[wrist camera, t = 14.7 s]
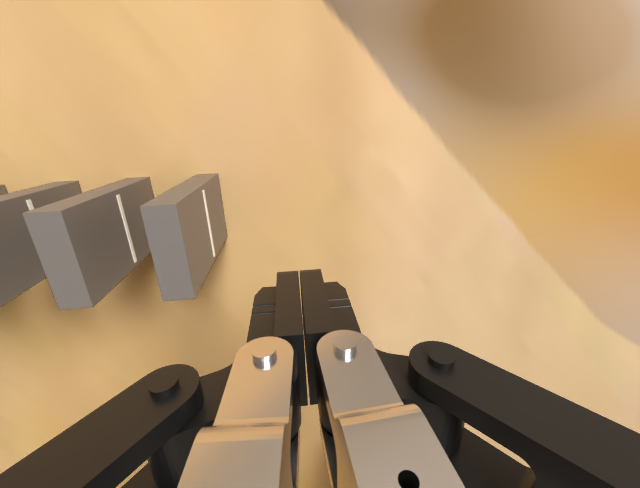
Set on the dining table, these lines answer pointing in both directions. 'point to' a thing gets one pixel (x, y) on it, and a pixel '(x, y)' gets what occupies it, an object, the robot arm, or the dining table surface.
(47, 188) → the tile
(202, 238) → the tile
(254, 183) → the dining table surface
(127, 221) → the tile
